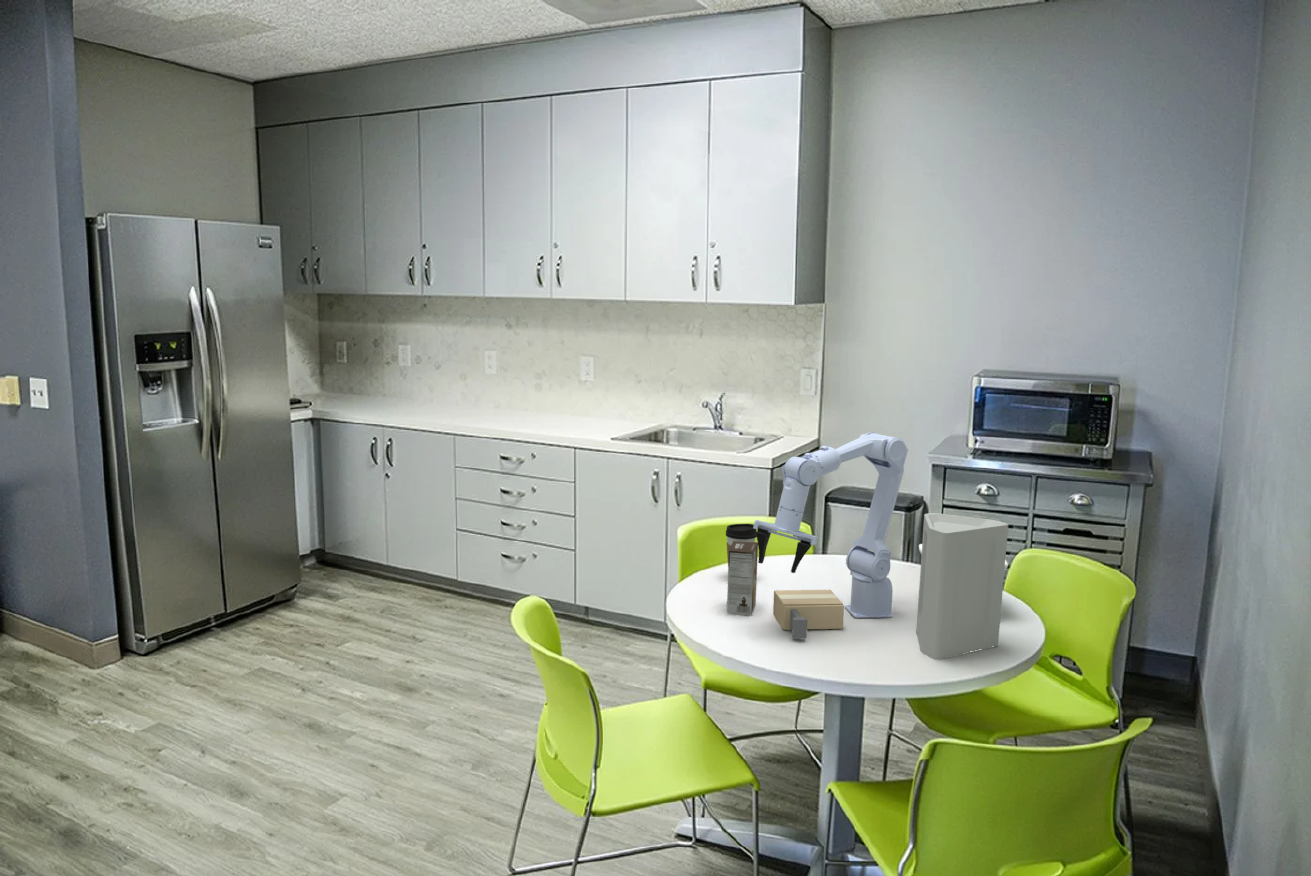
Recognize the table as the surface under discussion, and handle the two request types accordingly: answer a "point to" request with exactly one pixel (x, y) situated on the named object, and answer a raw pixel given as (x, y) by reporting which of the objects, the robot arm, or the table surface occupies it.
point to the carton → (801, 600)
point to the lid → (812, 618)
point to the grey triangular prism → (960, 584)
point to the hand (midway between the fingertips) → (776, 567)
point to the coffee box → (742, 578)
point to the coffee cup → (740, 534)
